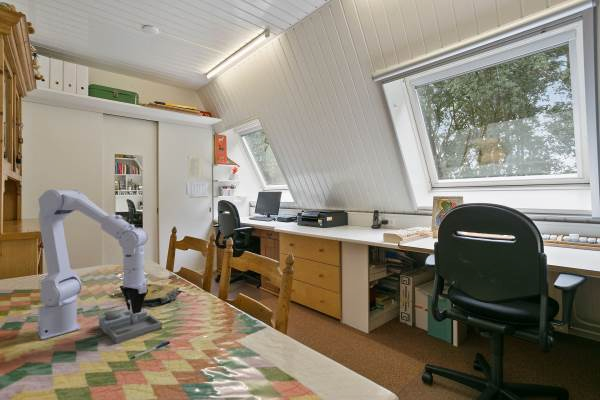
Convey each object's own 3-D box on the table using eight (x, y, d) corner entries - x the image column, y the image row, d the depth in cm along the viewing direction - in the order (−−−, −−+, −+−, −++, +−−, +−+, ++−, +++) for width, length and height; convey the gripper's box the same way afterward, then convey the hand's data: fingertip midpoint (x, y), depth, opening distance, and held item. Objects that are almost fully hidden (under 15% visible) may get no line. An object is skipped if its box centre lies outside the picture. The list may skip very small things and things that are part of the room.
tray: (115, 343, 85) (115, 337, 85) (106, 333, 91) (106, 327, 91) (161, 328, 95) (161, 322, 95) (150, 320, 101) (150, 314, 101)
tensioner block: (105, 333, 91) (105, 318, 91) (99, 326, 96) (99, 312, 96) (146, 320, 100) (146, 307, 100) (138, 315, 105) (138, 302, 105)
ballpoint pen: (168, 343, 86) (168, 339, 86) (170, 344, 86) (170, 340, 86) (130, 359, 78) (130, 355, 78) (132, 360, 77) (132, 356, 77)
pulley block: (139, 274, 135) (185, 284, 121) (141, 286, 136) (187, 297, 122) (107, 287, 122) (155, 300, 109) (109, 300, 123) (157, 314, 110)
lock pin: (130, 327, 91) (130, 302, 90) (125, 322, 93) (126, 298, 92) (142, 323, 93) (143, 299, 93) (138, 319, 96) (138, 295, 95)
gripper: (157, 269, 90) (157, 313, 91) (139, 261, 100) (139, 301, 100) (131, 274, 85) (132, 320, 86) (115, 265, 95) (115, 307, 95)
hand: (134, 310), depth 93 cm, fingers closed on lock pin, 3 cm apart
